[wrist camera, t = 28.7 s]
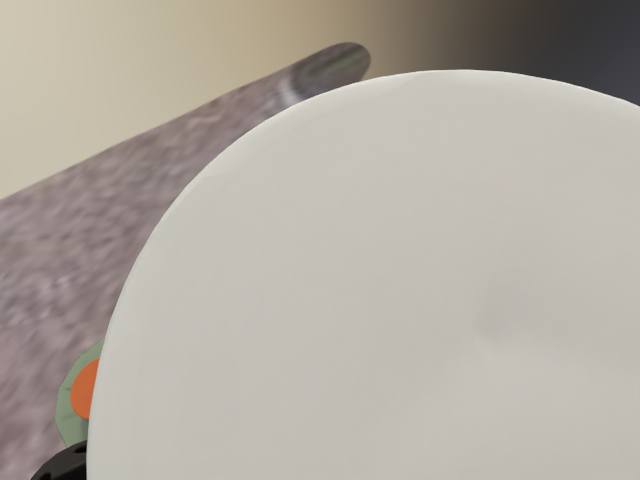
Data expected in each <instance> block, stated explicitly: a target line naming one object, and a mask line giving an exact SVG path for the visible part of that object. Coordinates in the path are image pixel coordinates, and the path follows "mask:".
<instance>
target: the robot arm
mask: <svg viewBox="0 0 640 480" xmlns="http://www.w3.org/2000/svg"><path fill="white" fill-rule="evenodd" d="M87 441H88V440H85V441H82V442H79V443H76V444H73V445H72V446H70V447H68V448H66V449H64V450H63V451H61V452H59V453H57V454H56V455H55V456H54V457H52V458H51V459H50V460H48V461H47V462H46V463H45V464H43V465H42V466H41V468H40V469H39V470H38V471H37V472H36V473H35V475H34V476H33V477H32V478H31V480H87V463H86V454H87Z"/></svg>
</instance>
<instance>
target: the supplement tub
mask: <svg viewBox="0 0 640 480" xmlns="http://www.w3.org/2000/svg"><path fill="white" fill-rule="evenodd" d="M86 463H87V480H640V107H639V106H637V105H634V104H632V103H630V102H627V101H625V100H622V99H619V98H615V97H612V96H609V95H606V94H602V93H599V92H596V91H593V90H590V89H586V88H583V87H579V86H575V85H572V84H568V83H564V82H559V81H554V80H549V79H543V78H537V77H532V76H527V75H521V74H515V73H507V72H497V71H478V70H440V71H438V70H437V71H421V72H413V73H405V74H399V75H391V76H385V77H378V78H374V79H370V80H366V81H362V82H358V83H354V84H350V85H347V86H344V87H341V88H338V89H335V90H332V91H329V92H326V93H323V94H320V95H317V96H315V97H312V98H310V99H307V100H305V101H303V102H300V103H298V104H296V105H294V106H292V107H290V108H288V109H286V110H284V111H282V112H280V113H278V114H277V115H275V116H273V117H271V118H269V119H267V120H266V121H264V122H263V123H261V124H260V125H258V126H257V127H255V128H254V129H252V130H251V131H249V132H248V133H246V134H245V135H243V136H242V137H240V138H239V139H238V140H237V141H235V142H234V143H233V144H231V145H230V146H229V147H228V148H226V149H225V150H224V151H223V152H222V153H221V154H219V155H218V156H217V157H216V158H215V159H214V160H212V161H211V162H210V163H209V164H208V165H207V166H206V167H205V168H204V169H203V170H202V171H201V172H200V173H199V174H198V175H197V176H196V177H195V178H194V179H193V180H192V181H191V182H190V183H189V184H188V185H187V186H186V187H185V189H184V190H183V191H182V192H181V194H180V195H179V196H178V197H177V199H176V200H175V201H174V202H173V203H172V205H171V206H170V207H169V209H168V210H167V211H166V213H165V214H164V216H163V217H162V219H161V220H160V221H159V223H158V224H157V226H156V227H155V229H154V230H153V232H152V234H151V235H150V237H149V239H148V241H147V242H146V244H145V246H144V247H143V249H142V251H141V252H140V254H139V256H138V258H137V259H136V261H135V264H134V266H133V268H132V270H131V272H130V274H129V276H128V278H127V280H126V282H125V284H124V287H123V289H122V292H121V295H120V297H119V300H118V302H117V305H116V307H115V310H114V312H113V315H112V317H111V320H110V323H109V326H108V330H107V334H106V338H105V341H104V345H103V349H102V353H101V356H100V360H99V365H98V370H97V375H96V380H95V386H94V391H93V396H92V403H91V409H90V416H89V427H88V441H87V454H86Z"/></svg>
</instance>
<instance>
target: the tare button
mask: <svg viewBox="0 0 640 480" xmlns="http://www.w3.org/2000/svg"><path fill="white" fill-rule="evenodd" d="M99 360H100V358H98V359H95V360H93V361H92V362H90V363H89V364H87V365H86V366H85V367H84V368H83V369H82V370H81V371H80V372H79V374H78V375H77V377H76V378H75V380H74V382H73V385H72V388H71V393H70V400H71V405H72V408H73V410H74V411H75V413H76V414H77V415H78V416H80V417H81V418H83V419H87V420H89V416H90V409H91V403H92V396H93V391H94V386H95V380H96V375H97V370H98V365H99Z"/></svg>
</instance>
